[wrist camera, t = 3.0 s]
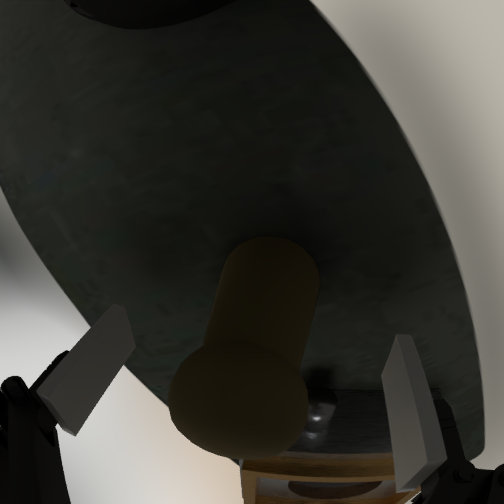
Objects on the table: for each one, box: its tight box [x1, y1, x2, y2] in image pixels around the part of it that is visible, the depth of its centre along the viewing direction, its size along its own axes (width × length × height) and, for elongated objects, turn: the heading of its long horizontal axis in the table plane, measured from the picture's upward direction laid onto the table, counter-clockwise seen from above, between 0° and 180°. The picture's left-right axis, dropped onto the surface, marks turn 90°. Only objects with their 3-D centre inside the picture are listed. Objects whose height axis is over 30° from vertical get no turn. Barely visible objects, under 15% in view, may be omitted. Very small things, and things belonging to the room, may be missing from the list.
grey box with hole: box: [239, 387, 442, 504], centre depth 20 cm, size 15×16×8 cm
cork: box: [168, 236, 320, 460], centre depth 14 cm, size 6×6×11 cm
